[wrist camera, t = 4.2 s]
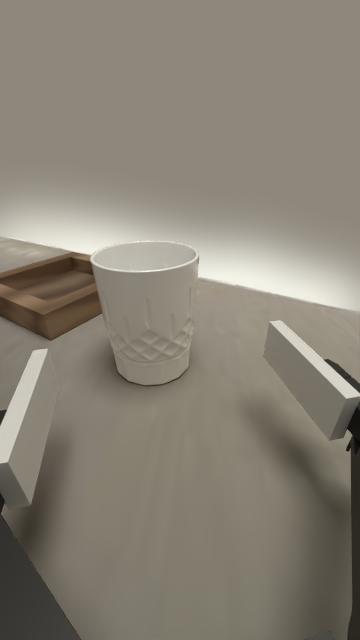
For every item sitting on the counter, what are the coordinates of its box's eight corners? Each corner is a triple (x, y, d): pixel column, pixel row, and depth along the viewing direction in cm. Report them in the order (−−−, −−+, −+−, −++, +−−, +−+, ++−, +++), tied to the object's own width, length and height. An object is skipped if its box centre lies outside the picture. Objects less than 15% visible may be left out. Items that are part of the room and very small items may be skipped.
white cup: (93, 360, 25) (70, 253, 20) (158, 328, 30) (153, 235, 25) (145, 407, 20) (132, 281, 15) (214, 361, 25) (221, 252, 20)
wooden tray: (-24, 304, 35) (-33, 282, 34) (76, 269, 47) (72, 252, 46) (51, 340, 28) (43, 314, 26) (148, 288, 40) (146, 268, 38)
